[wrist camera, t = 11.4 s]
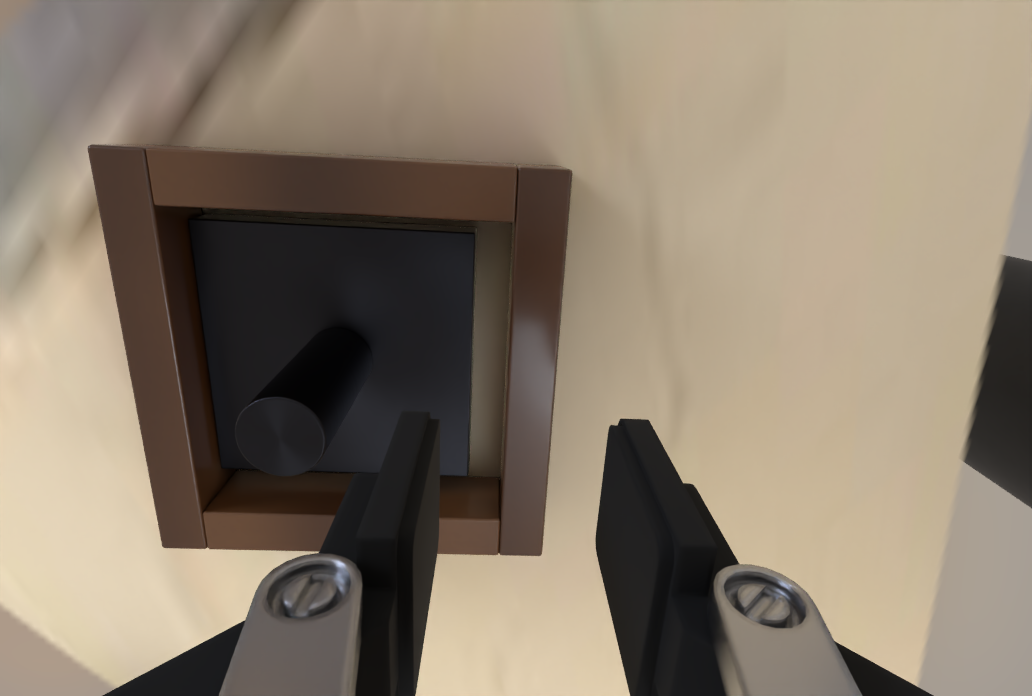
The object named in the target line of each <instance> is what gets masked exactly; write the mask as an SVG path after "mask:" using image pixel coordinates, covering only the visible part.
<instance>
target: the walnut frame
mask: <svg viewBox="0 0 1032 696" xmlns="http://www.w3.org/2000/svg"><path fill="white" fill-rule="evenodd" d="M88 153H89V158H90V163H91V169H92V174H93V179H94V185H95V190H96V195H97V201H98V206H99V211H100V216H101V222H102V227H103V232H104V238H105V243H106V248H107V254H108V259H109V264H110V270H111V275H112V280H113V286H114V291H115V296H116V302H117V307H118V312H119V318H120V323H121V328H122V334H123V339H124V344H125V350H126V355H127V360H128V366H129V371H130V376H131V382H132V387H133V392H134V398H135V403H136V408H137V414H138V419H139V424H140V430H141V435H142V440H143V445H144V451H145V456H146V461H147V467H148V472H149V477H150V483H151V488H152V493H153V499H154V504H155V509H156V515H157V520H158V525H159V531H160V536H161V541H162V546H163V547H164V548H186V549H206V548H207V547H208V548H209V549H229V550H277V551H320V549H321V547H322V545H323V542H324V540H325V538H326V536H327V533H328V531H329V529H330V527H331V524H332V522H333V520H334V518H335V515H336V513H337V511H338V509H339V506H340V504H341V502H342V500H343V497H344V495H345V493H346V491H347V488H348V486H349V484H350V482H351V479H352V477H353V476H354V473H317V472H305V473H302V474H299V475H295V476H276V475H272V474H268V473H266V472H263V471H243V470H238V471H236V472H235V469H222V468H221V462H220V454H219V447H218V439H217V432H216V424H215V417H214V410H213V402H212V395H211V387H210V380H209V372H208V365H207V358H206V350H205V343H204V335H203V328H202V320H201V313H200V305H199V298H198V291H197V283H196V276H195V268H194V261H193V253H192V246H191V239H190V231H189V224H188V219H189V218H193V217H197V216H201V215H202V212H201V208H216V209H237V210H258V211H279V212H300V213H321V214H342V215H363V216H384V217H405V218H426V219H448V220H469V221H490V222H511V223H512V242H511V263H510V284H509V304H508V325H507V346H506V367H505V388H504V409H503V430H502V451H501V472H500V479H499V478H498V477H466V476H440V501H439V542H438V551H437V554H470V555H498V553H500V555H520V556H540V555H541V554H542V547H543V534H544V522H545V509H546V497H547V484H548V472H549V459H550V446H551V434H552V421H553V409H554V396H555V384H556V371H557V359H558V346H559V334H560V321H561V309H562V296H563V284H564V271H565V259H566V246H567V234H568V221H569V208H570V196H571V183H572V171H571V170H569V169H566V168H563V167H561V166H547V165H527V164H517V165H516V166H515V165H514V164H509V163H489V162H470V161H451V160H432V159H413V158H394V157H374V156H355V155H336V154H317V153H298V152H279V151H259V150H240V149H221V148H202V147H182V146H163V145H90V146H88Z"/></svg>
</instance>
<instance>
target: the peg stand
mask: <svg viewBox="0 0 1032 696" xmlns="http://www.w3.org/2000/svg"><path fill="white" fill-rule="evenodd" d="M188 224H189V231H190V239H191V246H192V253H193V261H194V268H195V276H196V283H197V291H198V298H199V305H200V313H201V320H202V328H203V335H204V343H205V350H206V358H207V365H208V372H209V380H210V387H211V395H212V402H213V410H214V417H215V424H216V432H217V439H218V447H219V454H220V462H221V468H222V469H249V470H261V471H263V472H266V473H268V474H272V475H276V476H295V475H299V474H302V473H305V472H307V471H311V472H343V473H375V474H379V472H380V469H381V467H382V464H383V461H384V458H385V456H386V453H387V450H388V448H389V445H390V442H391V439H392V437H393V434H394V431H395V428H396V426H397V423H398V420H399V418H400V415H401V412H402V411H425V412H430V417H431V419H440V476H468V472H469V461H470V435H471V403H472V370H473V338H474V306H475V273H476V241H477V228H476V227H460V226H440V225H421V224H401V223H381V222H362V221H342V220H323V219H303V218H283V217H264V216H244V215H224V214H205V215H201V216H197V217H193V218H189V219H188Z"/></svg>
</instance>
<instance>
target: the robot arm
mask: <svg viewBox="0 0 1032 696" xmlns="http://www.w3.org/2000/svg"><path fill="white" fill-rule="evenodd" d="M439 501H440V419H431V417H430V412H425V411H402V412H401V415H400V418H399V420H398V423H397V426H396V428H395V431H394V434H393V437H392V439H391V442H390V445H389V448H388V450H387V453H386V456H385V458H384V461H383V464H382V467H381V469H380V472H379V474H375V473H355V474H354V476H353V477H352V479H351V482H350V484H349V486H348V488H347V491H346V493H345V495H344V497H343V500H342V502H341V504H340V506H339V509H338V511H337V513H336V515H335V518H334V520H333V522H332V524H331V527H330V529H329V531H328V533H327V536H326V538H325V540H324V542H323V545H322V547H321V549H320V552H319V553H316V554H310V555H304V556H300V557H297V558H295V559H292V560H289V561H287V562H285V563H283V564H281V565H280V566H278V567H276V568H275V569H273V570H272V571H271V572H270V573H269V574H268V575H267V576H266V577H265V578H264V579H263V580H262V581H261V583H260V585H259V587H258V588H257V590H256V592H255V595H254V598H253V601H252V603H251V606H250V609H249V612H248V615H247V617H246V620H245V621H243V622H241V623H239V624H237V625H235V626H233V627H231V628H230V629H228V630H226V631H224V632H222V633H220V634H218V635H216V636H214V637H213V638H211V639H209V640H207V641H205V642H203V643H201V644H199V645H197V646H196V647H194V648H192V649H190V650H188V651H186V652H184V653H182V654H180V655H179V656H177V657H175V658H173V659H171V660H169V661H167V662H165V663H163V664H162V665H160V666H158V667H156V668H154V669H152V670H150V671H148V672H146V673H145V674H143V675H141V676H139V677H137V678H135V679H133V680H131V681H129V682H128V683H126V684H124V685H122V686H120V687H118V688H116V689H114V690H112V691H111V692H109V693H107V694H105V695H103V696H415V694H416V688H417V682H418V675H419V669H420V662H421V656H422V649H423V643H424V636H425V630H426V623H427V617H428V610H429V603H430V597H431V590H432V584H433V577H434V571H435V564H436V558H437V551H438V542H439ZM596 552H597V557H598V561H599V566H600V570H601V574H602V578H603V583H604V587H605V591H606V595H607V599H608V604H609V608H610V612H611V616H612V621H613V625H614V629H615V633H616V637H617V642H618V646H619V650H620V654H621V658H622V663H623V667H624V671H625V675H626V680H627V684H628V688H629V692H630V696H933V695H931V694H929V693H928V692H926V691H924V690H922V689H920V688H919V687H917V686H915V685H913V684H911V683H909V682H908V681H906V680H904V679H902V678H900V677H898V676H897V675H895V674H893V673H891V672H889V671H888V670H886V669H884V668H882V667H880V666H878V665H877V664H875V663H873V662H871V661H869V660H868V659H866V658H864V657H862V656H860V655H858V654H857V653H855V652H853V651H851V650H849V649H847V648H846V647H844V646H842V645H840V644H838V643H837V642H835V641H834V640H833V638H832V636H831V634H830V632H829V630H828V628H827V626H826V624H825V622H824V620H823V618H822V616H821V614H820V613H819V611H818V609H817V607H816V605H815V603H814V602H813V600H812V599H811V598H810V596H809V595H808V593H807V592H806V591H805V590H803V589H802V588H801V587H800V586H799V585H798V584H797V583H795V582H794V581H792V580H791V579H789V578H787V577H786V576H784V575H782V574H780V573H778V572H775V571H773V570H770V569H768V568H765V567H760V566H755V565H747V564H739V563H738V561H737V559H736V557H735V556H734V554H733V552H732V550H731V549H730V547H729V545H728V543H727V542H726V540H725V538H724V536H723V535H722V533H721V531H720V529H719V528H718V526H717V524H716V522H715V521H714V519H713V517H712V515H711V514H710V512H709V510H708V508H707V507H706V505H705V503H704V501H703V500H702V498H701V496H700V494H699V493H698V491H697V489H696V488H695V487H694V485H692V484H686V483H683V482H682V480H681V479H680V477H679V475H678V473H677V471H676V469H675V467H674V466H673V464H672V462H671V460H670V458H669V456H668V455H667V453H666V451H665V449H664V447H663V445H662V443H661V442H660V440H659V438H658V436H657V434H656V432H655V431H654V429H653V427H652V425H651V423H650V421H649V420H641V419H620V421H619V423H618V426H614V425H611V426H610V427H609V432H608V439H607V447H606V456H605V464H604V472H603V481H602V489H601V497H600V505H599V514H598V522H597V530H596Z"/></svg>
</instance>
